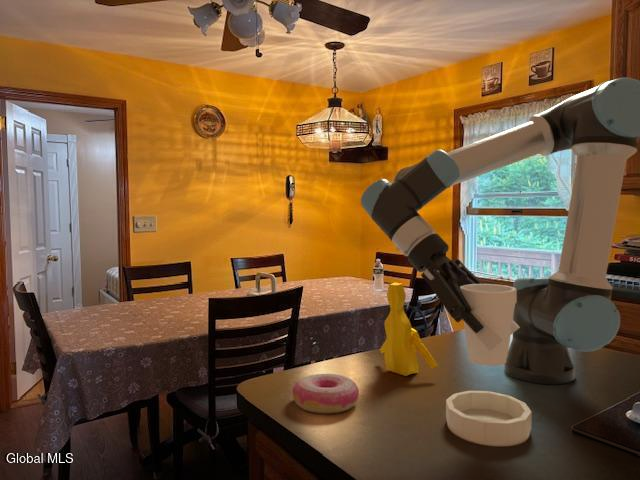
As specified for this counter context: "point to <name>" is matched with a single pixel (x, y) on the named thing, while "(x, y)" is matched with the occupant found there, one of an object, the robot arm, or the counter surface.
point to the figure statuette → (402, 337)
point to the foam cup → (490, 320)
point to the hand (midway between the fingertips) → (505, 338)
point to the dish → (488, 418)
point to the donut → (325, 393)
